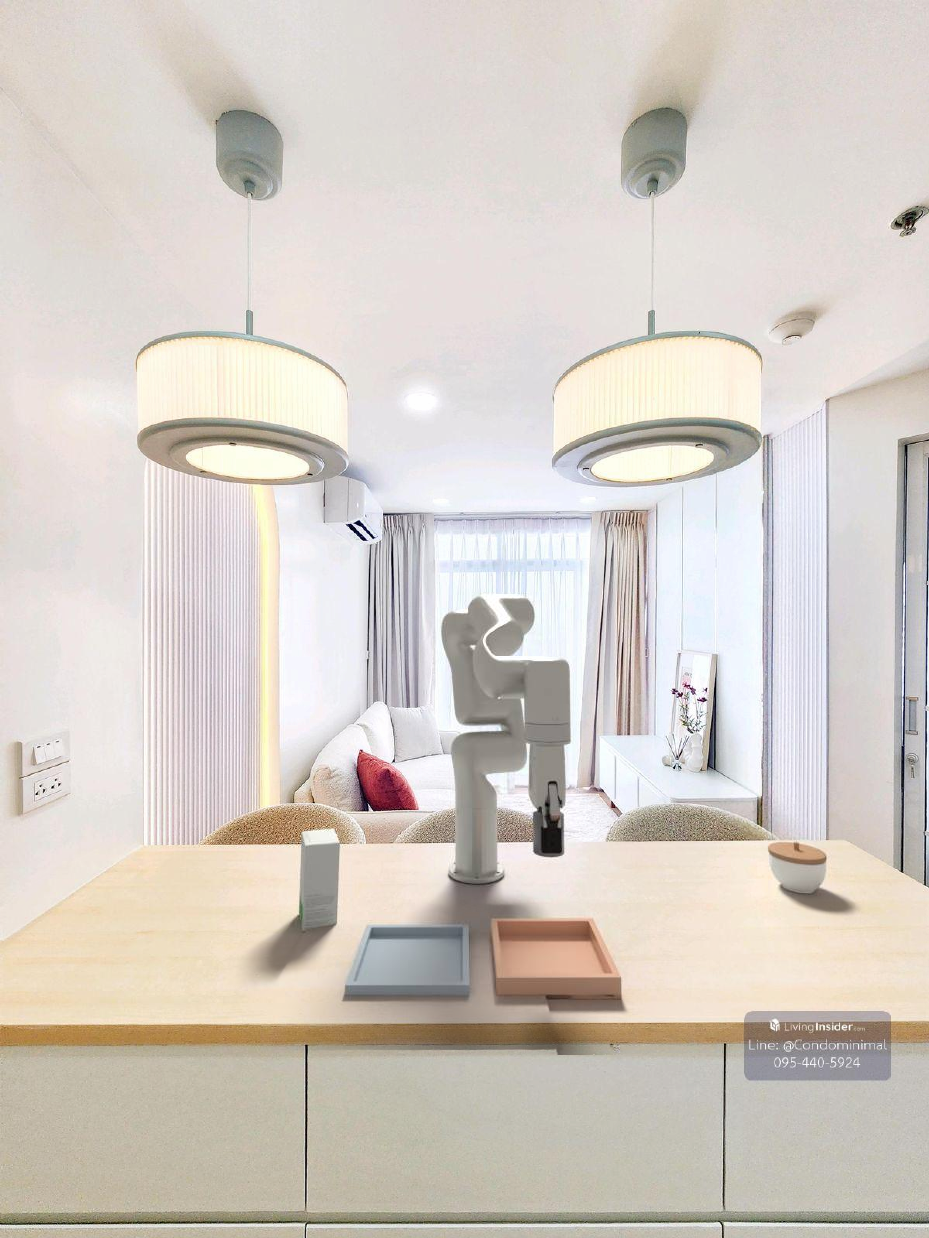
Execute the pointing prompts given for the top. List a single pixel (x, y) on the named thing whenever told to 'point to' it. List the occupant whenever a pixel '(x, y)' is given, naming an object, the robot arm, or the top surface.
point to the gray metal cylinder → (537, 834)
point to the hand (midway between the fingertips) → (548, 845)
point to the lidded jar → (797, 866)
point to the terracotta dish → (553, 959)
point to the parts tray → (411, 961)
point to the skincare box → (319, 878)
